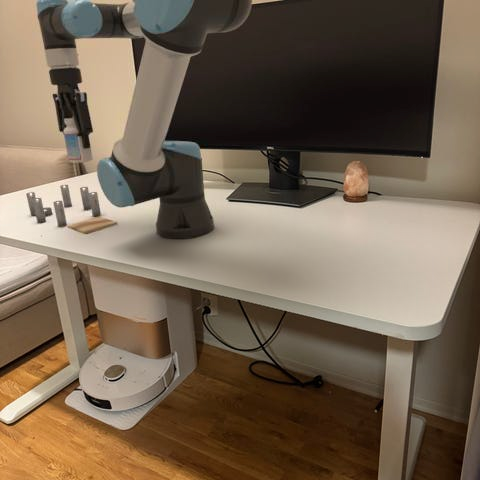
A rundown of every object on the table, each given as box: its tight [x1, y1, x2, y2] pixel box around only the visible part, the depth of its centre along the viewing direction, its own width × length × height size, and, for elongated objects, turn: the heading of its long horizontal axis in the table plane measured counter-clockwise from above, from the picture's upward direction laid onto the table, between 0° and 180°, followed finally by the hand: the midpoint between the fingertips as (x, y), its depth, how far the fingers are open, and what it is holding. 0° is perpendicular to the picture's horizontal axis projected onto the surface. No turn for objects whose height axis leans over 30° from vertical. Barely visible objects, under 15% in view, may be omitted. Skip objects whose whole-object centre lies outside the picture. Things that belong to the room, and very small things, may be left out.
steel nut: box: [43, 207, 53, 218], centre depth 144 cm, size 4×4×2 cm
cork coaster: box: [66, 216, 119, 235], centre depth 131 cm, size 10×10×1 cm
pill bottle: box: [63, 118, 93, 164], centre depth 123 cm, size 6×6×11 cm
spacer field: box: [26, 184, 102, 228], centre depth 141 cm, size 20×17×7 cm
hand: (80, 159), depth 124 cm, fingers closed on pill bottle, 6 cm apart
